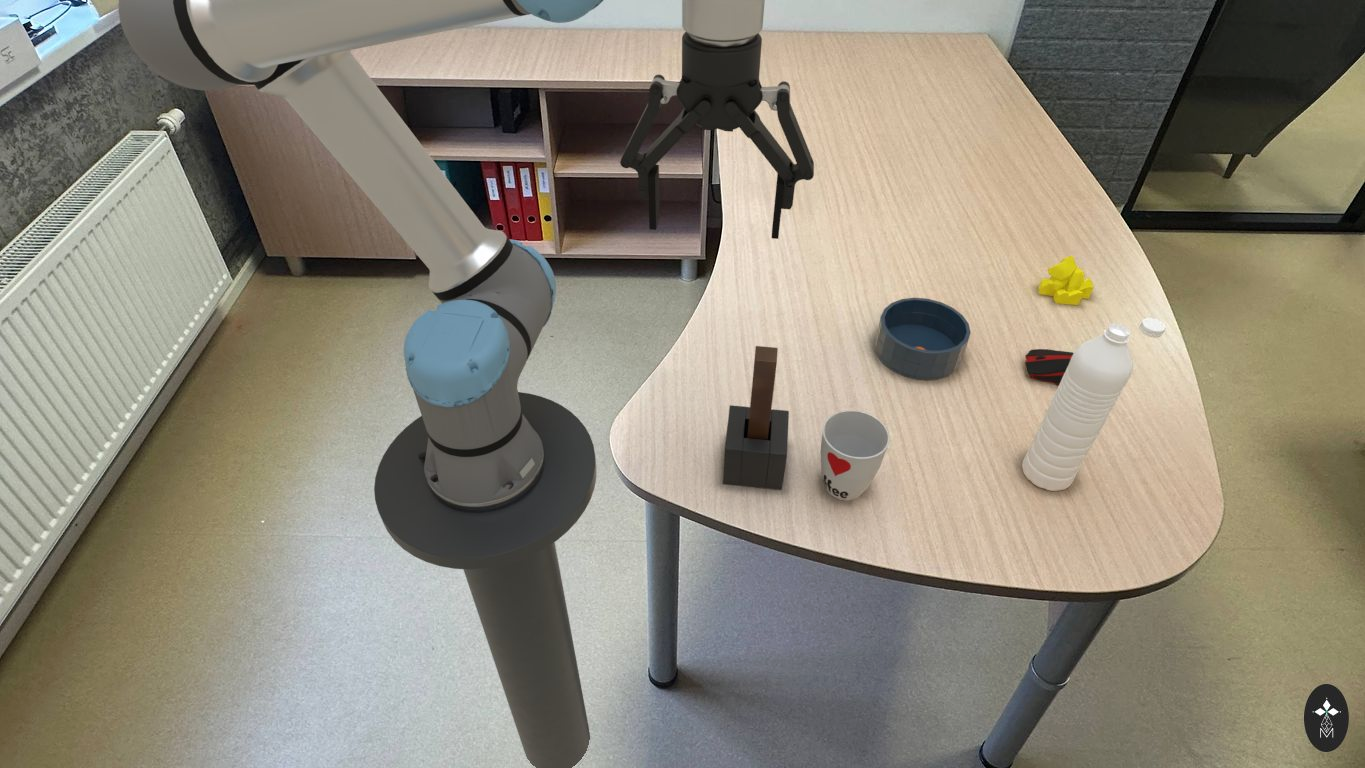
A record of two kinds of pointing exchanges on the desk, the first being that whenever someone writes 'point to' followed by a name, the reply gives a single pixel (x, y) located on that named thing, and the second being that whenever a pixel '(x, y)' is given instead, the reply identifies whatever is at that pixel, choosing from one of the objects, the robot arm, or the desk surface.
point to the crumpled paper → (1066, 283)
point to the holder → (755, 451)
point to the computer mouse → (1047, 365)
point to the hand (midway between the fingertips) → (714, 227)
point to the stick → (762, 392)
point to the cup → (851, 452)
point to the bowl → (921, 338)
